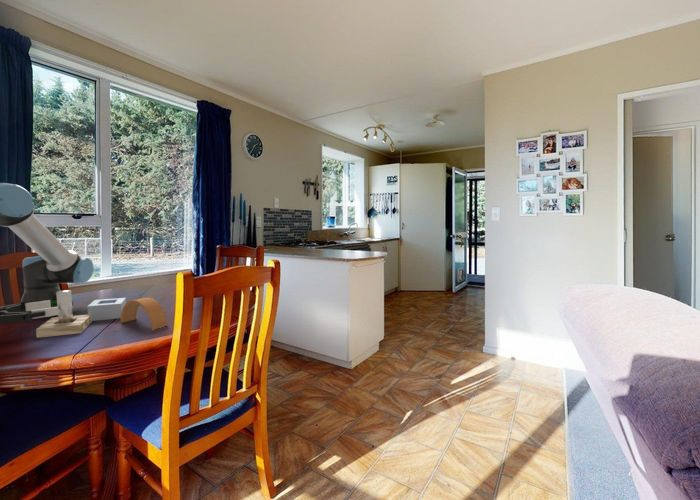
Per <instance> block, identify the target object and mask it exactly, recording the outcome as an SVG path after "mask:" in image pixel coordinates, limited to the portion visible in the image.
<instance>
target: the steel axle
mask: <svg viewBox="0 0 700 500" xmlns="http://www.w3.org/2000/svg"><path fill="white" fill-rule="evenodd" d="M56 293H57V307H58V315H57V317H58V322H59V324H62V323H72V322H73V316H74V314H73V306H72V301H73V300H72V299H73V297H72V290H70V289H67V290H66V289H65V290H63V289H62V290H61V291H57V292H56Z"/></svg>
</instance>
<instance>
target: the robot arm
mask: <svg viewBox="0 0 700 500" xmlns="http://www.w3.org/2000/svg"><path fill="white" fill-rule="evenodd" d="M33 200H34V198H33V196H32V194H31V193H30V191H28V190H27V189H26V188H24V187H23V186H21V185H18V184H13V183H8V182H7V183H6V182H0V227H4V228H6V227H7V228H9V229H10V231H12V232H13V233H14V234H15V235H16V236H18V238H19V239H21V240H22V241H23V243H24V244H26V245H27V246H28V247H30V248H31V249H32V250H33V252H34V253H36V254H37V256H30V257H24V259H22V266H21V268H22V279H23V289H24V291H23V294H22V297H21V300H20V302H18V303H13V304H8V305H4V306H2V305H1V306H0V324H1V325H2V324H12V323H26V322H27V323H31V322H33V319H34V320H35V319H40V318H41V319H42V318H47V317H48V316H49V317H54V316H58V307H52V308H51V303H50V301H52V300H57V293H56V292H57V291H62V290H61V288H60V284H75V285H77V284H85V283H87V282H89V280H90V279H91V278H92V276H93V274H94V268H95V267H94V263H93V261H92V259H91V258H88V257H86V256H85V257H81V256H80V255H79V254H78V253H77V252H76V251H74V250H72V249H71V250H70V249H68V248H67V247H66V246H64V244H63V243H62V242H61V241H60V240H59V239H58V238H57V237H56V236H55V235H54V234H53V233H52V232H51V231H50V230H49V229H48V228H47V227H46V226H45V225H44V223H42V222H41V221H40V220H39V219H38V217H37V216H36V215H35V214H34V212H35V202H33ZM49 317H48V318H49Z"/></svg>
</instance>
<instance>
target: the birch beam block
mask: <svg viewBox="0 0 700 500" xmlns="http://www.w3.org/2000/svg"><path fill="white" fill-rule="evenodd" d="M92 322H93V321H92V314H90V315H88V314H80V315H73V322H72V323H62V324H59V322H58V316H56V317H51V318H50V319H48V320H47V321H45V322H44V323H42V324H41V325H40V326H38V327H37V328H35V330H36V331H35V333H36V339H38V338H47V337H55V336H56V337H58V336H65V335H66V336H68V335H74V334H82V333H83V332H84V331H85V330H86V329H87V328H88V327H89V326H90V324H92Z"/></svg>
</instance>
